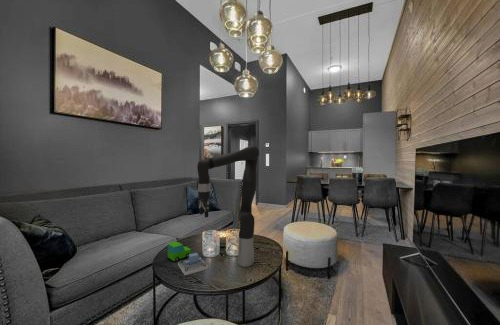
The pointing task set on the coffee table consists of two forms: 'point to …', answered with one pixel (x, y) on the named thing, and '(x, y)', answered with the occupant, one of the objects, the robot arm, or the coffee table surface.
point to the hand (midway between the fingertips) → (203, 215)
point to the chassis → (192, 267)
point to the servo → (193, 259)
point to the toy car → (177, 251)
